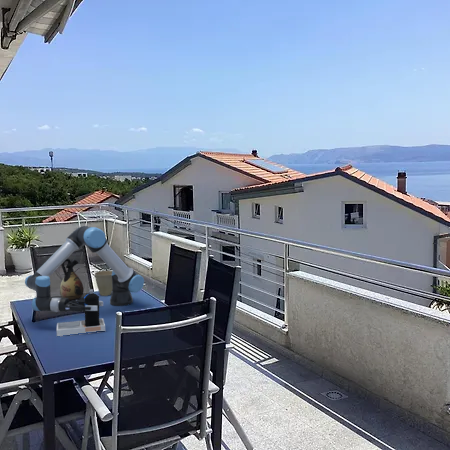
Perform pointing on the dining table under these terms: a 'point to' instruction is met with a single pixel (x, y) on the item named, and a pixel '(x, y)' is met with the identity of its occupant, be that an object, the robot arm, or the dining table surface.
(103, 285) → the plant pot
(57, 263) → the robot arm
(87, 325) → the aerosol can
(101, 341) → the dining table surface
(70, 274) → the ceramic jug
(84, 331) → the tray
